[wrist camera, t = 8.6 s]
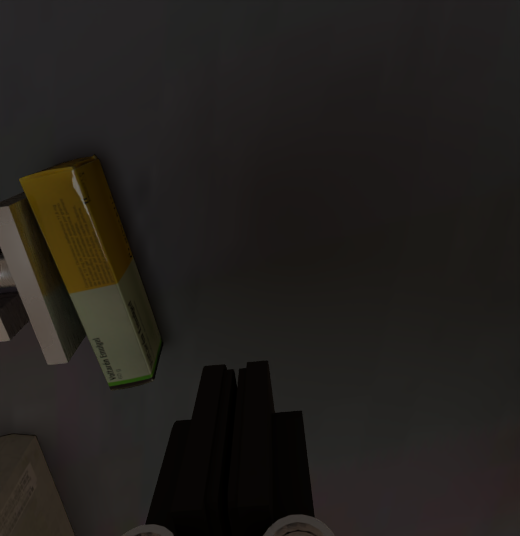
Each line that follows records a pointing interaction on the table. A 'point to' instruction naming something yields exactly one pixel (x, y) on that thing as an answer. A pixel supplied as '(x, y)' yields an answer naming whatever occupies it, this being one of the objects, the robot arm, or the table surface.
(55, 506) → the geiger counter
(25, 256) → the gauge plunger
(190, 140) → the table surface
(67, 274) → the medication box
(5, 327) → the grey u-shaped bracket
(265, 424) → the robot arm
